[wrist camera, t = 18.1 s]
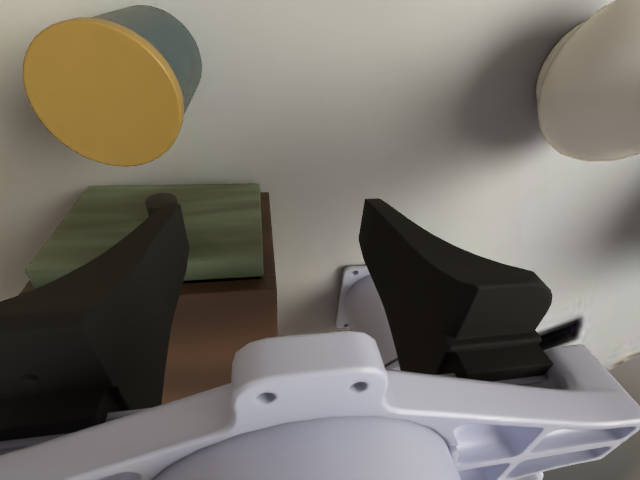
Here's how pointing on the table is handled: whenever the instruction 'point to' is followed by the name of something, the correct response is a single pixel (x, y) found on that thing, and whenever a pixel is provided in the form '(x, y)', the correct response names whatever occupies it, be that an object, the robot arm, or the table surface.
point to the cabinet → (218, 323)
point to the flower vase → (594, 87)
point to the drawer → (141, 201)
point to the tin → (114, 83)
